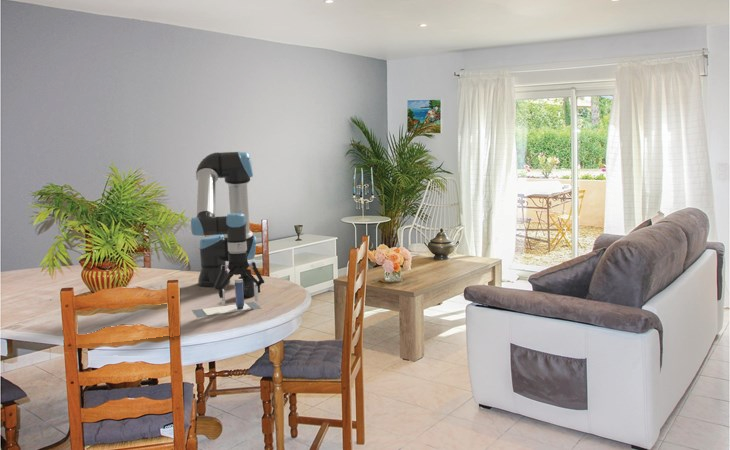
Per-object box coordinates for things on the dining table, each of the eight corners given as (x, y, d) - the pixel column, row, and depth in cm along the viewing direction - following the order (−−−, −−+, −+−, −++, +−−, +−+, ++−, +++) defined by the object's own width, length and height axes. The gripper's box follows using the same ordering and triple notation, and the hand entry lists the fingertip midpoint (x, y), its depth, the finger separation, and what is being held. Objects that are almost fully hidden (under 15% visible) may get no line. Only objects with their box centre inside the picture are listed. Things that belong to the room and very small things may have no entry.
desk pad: (191, 311, 259) (191, 310, 258) (253, 302, 270) (253, 301, 269) (197, 318, 248) (197, 317, 248) (261, 309, 259) (261, 308, 259)
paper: (202, 309, 259) (202, 309, 259) (245, 303, 267) (245, 303, 267) (207, 315, 250) (207, 314, 250) (251, 309, 258) (251, 308, 258)
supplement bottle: (257, 295, 281) (256, 269, 280) (250, 299, 275) (248, 272, 273) (244, 294, 284) (242, 268, 282) (236, 298, 277) (234, 271, 276)
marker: (234, 308, 259) (233, 279, 257) (242, 307, 261) (240, 278, 259) (238, 310, 256) (236, 281, 254) (245, 308, 258) (244, 280, 256)
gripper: (208, 256, 246) (211, 309, 249) (270, 250, 257) (272, 301, 260) (204, 253, 253) (207, 305, 256) (264, 247, 263) (267, 297, 266)
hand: (240, 303), depth 258 cm, fingers open, 13 cm apart
